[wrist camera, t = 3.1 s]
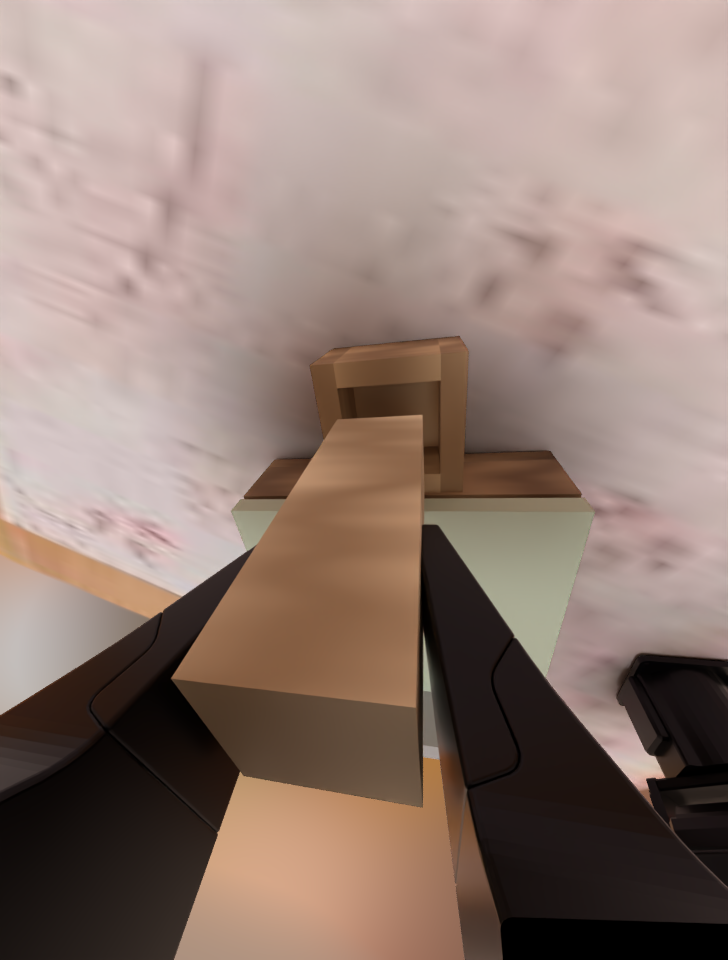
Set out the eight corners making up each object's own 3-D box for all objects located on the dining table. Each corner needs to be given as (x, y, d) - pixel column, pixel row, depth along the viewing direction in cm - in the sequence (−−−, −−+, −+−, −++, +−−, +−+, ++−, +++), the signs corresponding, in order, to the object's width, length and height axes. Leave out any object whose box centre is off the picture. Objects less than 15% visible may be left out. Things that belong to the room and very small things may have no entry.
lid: (584, 497, 14) (636, 567, 10) (525, 719, 23) (541, 793, 20) (240, 499, 17) (194, 553, 13) (312, 693, 26) (295, 754, 23)
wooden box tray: (574, 324, 14) (622, 338, 11) (511, 658, 27) (523, 714, 23) (245, 357, 18) (200, 376, 14) (326, 642, 30) (313, 690, 27)
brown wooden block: (422, 414, 11) (415, 707, 3) (424, 489, 13) (422, 807, 5) (337, 419, 12) (171, 678, 4) (348, 490, 13) (243, 775, 6)
